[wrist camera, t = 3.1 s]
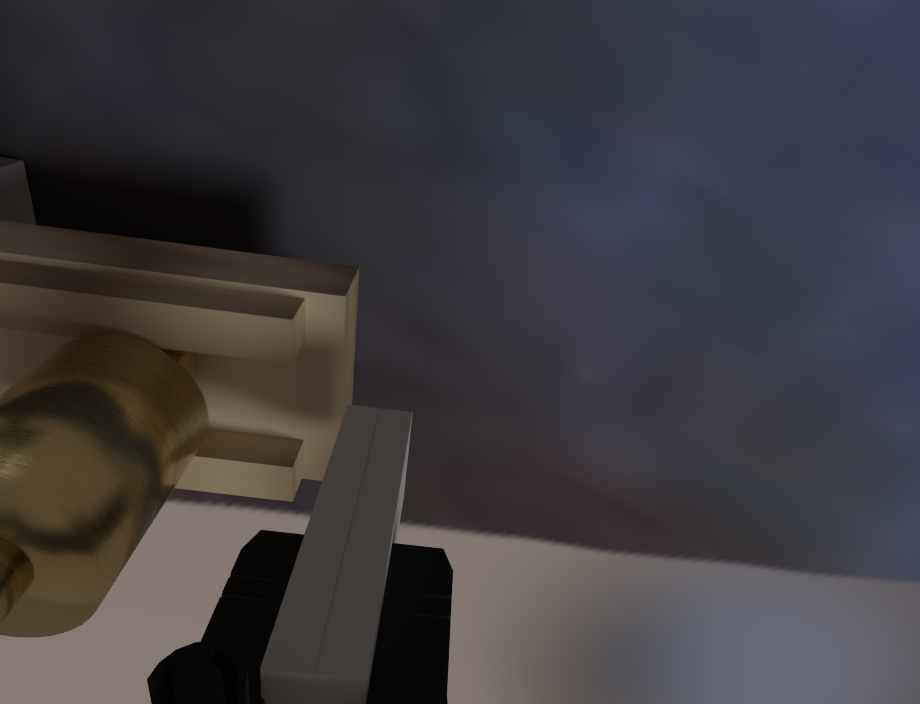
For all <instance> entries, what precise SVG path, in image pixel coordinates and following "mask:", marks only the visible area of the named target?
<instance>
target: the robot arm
mask: <svg viewBox="0 0 920 704" xmlns="http://www.w3.org/2000/svg"><path fill="white" fill-rule="evenodd" d="M412 413H413V412H405V411H397V410H388V409H380V408H371V407H363V406H355V405H347V408H346V411H345V414H344V417H343V420H342V423H341V426H340V429H339V432H338V435H337V438H336V441H335V444H334V447H333V450H332V453H331V456H330V459H329V462H328V465H327V468H326V471H325V475H324V478H323V481H322V484H321V487H320V490H319V493H318V496H317V499H316V502H315V505H314V508H313V511H312V514H311V517H310V520H309V523H308V526H307V529H306V532H305V535H301V534H293V533H284V532H275V531H266V530H261V531H259V532H258V533H257V534H256V535H255V536H254V537H253V538H252V539H251V540H250V541H249V542H248V543H247V544H246V545H245V546H244V547H243V548H242V549H241V551H240V553H239V555H238V558H237V560H236V562H235V565H234V567H233V569H232V572H231V576H230V578H228V581H227V583H226V585H225V587H224V590H223V592H222V597H220V599H219V601H218V603H217V606H216V608H215V610H214V612H213V615H212V617H211V619H210V621H209V624H208V626H207V628H206V631H205V633H204V635H203V637H202V640H201V642H195V643H193V644H190V645H187V646H185V647H182V648H180V649H177V650H175V651H174V652H172V653H171V654H170V655H169V656H167V657H166V658H165V659H163V660H162V661H161V662H159V664H158V665H157V666H156V668H155V669H154V671H153V672H152V673H151V675H150V676H149V677H148V679H147V682H148V687H149V692H150V698H151V703H152V704H448V703H447V682H448V662H449V641H450V617H451V597H452V580H453V570H452V568H451V565H450V563H449V561H448V558H447V556H446V554H445V551H444V549H441V548H432V547H423V546H414V545H405V544H397V537H398V530H399V524H400V518H401V511H402V505H403V497H404V488H405V478H406V469H407V460H408V450H409V441H410V431H411V422H412Z"/></svg>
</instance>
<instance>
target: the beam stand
mask: <svg viewBox="0 0 920 704" xmlns="http://www.w3.org/2000/svg"><path fill="white" fill-rule="evenodd" d="M358 281H359V267H355V266H347V265H340V264H332V263H324V262H317V261H309V260H301V259H294V258H286V257H278V256H271V255H263V254H255V253H248V252H240V251H232V250H225V249H217V248H209V247H202V246H194V245H186V244H179V243H171V242H163V241H156V240H148V239H140V238H133V237H125V236H118V235H110V234H102V233H95V232H87V231H79V230H72V229H64V228H56V227H49V226H41V225H36V221H35V216H34V211H33V206H32V201H31V196H30V191H29V186H28V181H27V177H26V172H25V167H24V162H23V160H18V159H10V158H3V157H0V396H1V395H2V394H3V393H5V392H6V391H7V390H8V389H10V388H11V387H12V386H13V385H14V384H16V383H17V382H18V381H19V380H21V379H22V378H23V377H24V376H26V375H27V374H28V373H29V372H30V371H32V370H33V369H34V368H35V367H37V366H38V365H39V364H40V363H41V362H43V361H44V360H45V359H46V358H48V357H49V356H50V355H51V354H53V353H54V352H55V351H56V350H57V349H59V348H60V347H61V346H63V345H64V344H65V343H67V342H69V341H71V340H73V339H76V338H79V337H82V336H86V335H92V334H117V335H122V336H128V337H131V338H134V339H138V340H141V341H143V342H146V343H148V344H150V345H152V346H154V347H158V348H166V349H174V350H182V351H190V352H192V355H193V367H194V378H195V382H196V383H197V385H198V386H199V388H200V390H201V392H202V394H203V396H204V399H205V402H206V405H207V409H208V416H209V424H208V430H207V434H206V437H205V439H204V441H203V443H202V445H201V446H200V448H199V450H198V451H197V453H196V454H195V456H194V457H193V459H192V461H191V462H190V464H189V465H188V467H187V468H186V470H185V472H184V473H183V475H182V476H181V478H180V480H179V481H178V483H177V484H176V486H175V487H174V488H179V489H188V490H196V491H205V492H213V493H222V494H231V495H239V496H248V497H256V498H265V499H273V500H282V501H290V502H293V499H294V497H295V494H296V492H297V489H298V486H299V484H300V481H301V478H303V479H311V480H320V481H323V478H324V475H325V471H326V468H327V465H328V462H329V459H330V456H331V453H332V450H333V447H334V444H335V441H336V438H337V435H338V432H339V429H340V426H341V423H342V420H343V417H344V414H345V411H346V408H347V405H352V393H353V374H354V356H355V337H356V318H357V300H358Z"/></svg>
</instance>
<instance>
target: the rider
mask: <svg viewBox="0 0 920 704" xmlns="http://www.w3.org/2000/svg"><path fill="white" fill-rule="evenodd" d="M208 424H209V416H208V409H207V405H206V402H205V399H204V396H203V394H202V392H201V390H200V388H199V386H198V385H197V383H196V382H195V378H194V367H193V355H192V352H190V351H182V350H174V349H166V348H158V347H154V346H152V345H150V344H148V343H146V342H143V341H141V340H138V339H134V338H131V337H128V336H122V335H117V334H92V335H86V336H82V337H79V338H76V339H73V340H71V341H69V342H67V343H65V344H64V345H63V346H61V347H60V348H59V349H57V350H56V351H55V352H54V353H53V354H51V355H50V356H49V357H48V358H46V359H45V360H44V361H43V362H41V363H40V364H39V365H38V366H37V367H35V368H34V369H33V370H32V371H30V372H29V373H28V374H27V375H26V376H24V377H23V378H22V379H21V380H19V381H18V382H17V383H16V384H14V385H13V386H12V387H11V388H10V389H8V390H7V391H6V392H5V393H3V394H2V395H1V396H0V635H6V636H13V637H44V636H51V635H56V634H60V633H64V632H67V631H70V630H72V629H74V628H76V627H78V626H80V625H82V624H83V623H84V622H86V621H87V620H88V619H89V618H90V617H91V616H92V615H93V614H94V613H95V612H96V610H97V609H98V607H99V605H100V604H101V602H102V601H103V599H104V598H105V596H106V594H107V593H108V591H109V590H110V588H111V587H112V585H113V583H114V582H115V580H116V579H117V577H118V575H119V574H120V572H121V571H122V569H123V568H124V566H125V565H126V563H127V561H128V560H129V558H130V557H131V555H132V553H133V551H134V550H135V549H136V547H137V545H138V544H139V542H140V540H141V539H142V538H143V536H144V534H145V533H146V531H147V530H148V528H149V527H150V525H151V524H152V522H153V520H154V519H155V517H156V516H157V514H158V512H159V511H160V509H161V508H162V506H163V505H164V503H165V502H166V500H167V498H168V497H169V495H170V494H171V492H172V491H173V489H174V487H175V486H176V484H177V483H178V481H179V480H180V478H181V476H182V475H183V473H184V472H185V470H186V468H187V467H188V465H189V464H190V462H191V461H192V459H193V457H194V456H195V454H196V453H197V451H198V450H199V448H200V446H201V445H202V443H203V441H204V439H205V437H206V434H207V430H208Z"/></svg>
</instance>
